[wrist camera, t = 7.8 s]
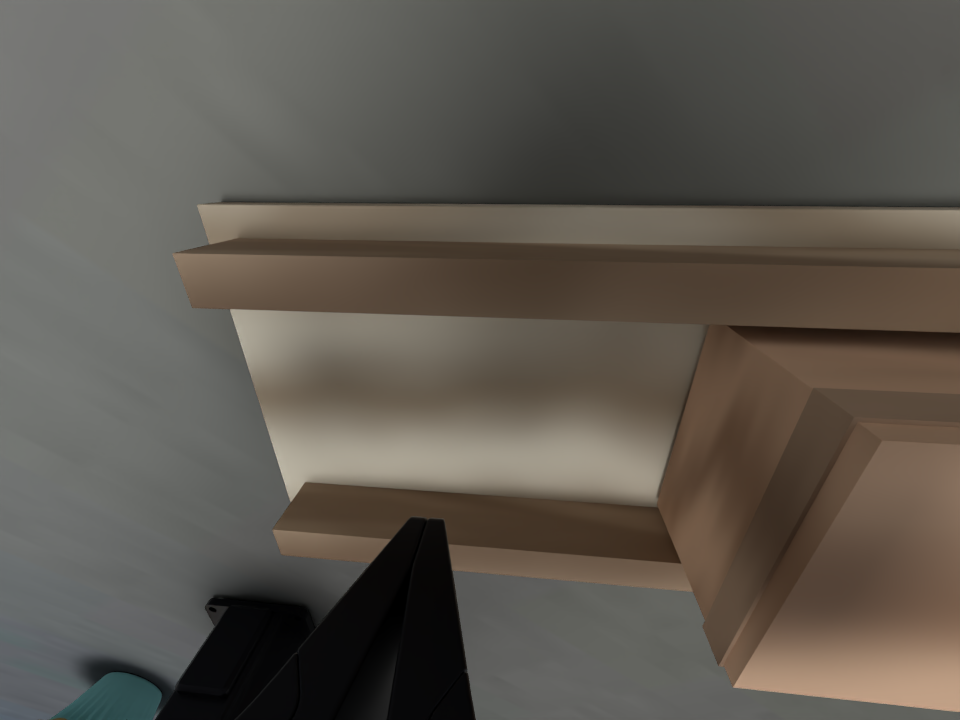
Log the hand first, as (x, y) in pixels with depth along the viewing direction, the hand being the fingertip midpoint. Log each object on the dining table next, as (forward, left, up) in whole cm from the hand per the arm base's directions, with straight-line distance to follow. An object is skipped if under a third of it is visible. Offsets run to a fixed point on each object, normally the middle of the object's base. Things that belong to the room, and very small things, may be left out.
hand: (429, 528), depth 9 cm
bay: (0, -7, -7) cm, 9 cm away
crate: (0, -13, -6) cm, 14 cm away
